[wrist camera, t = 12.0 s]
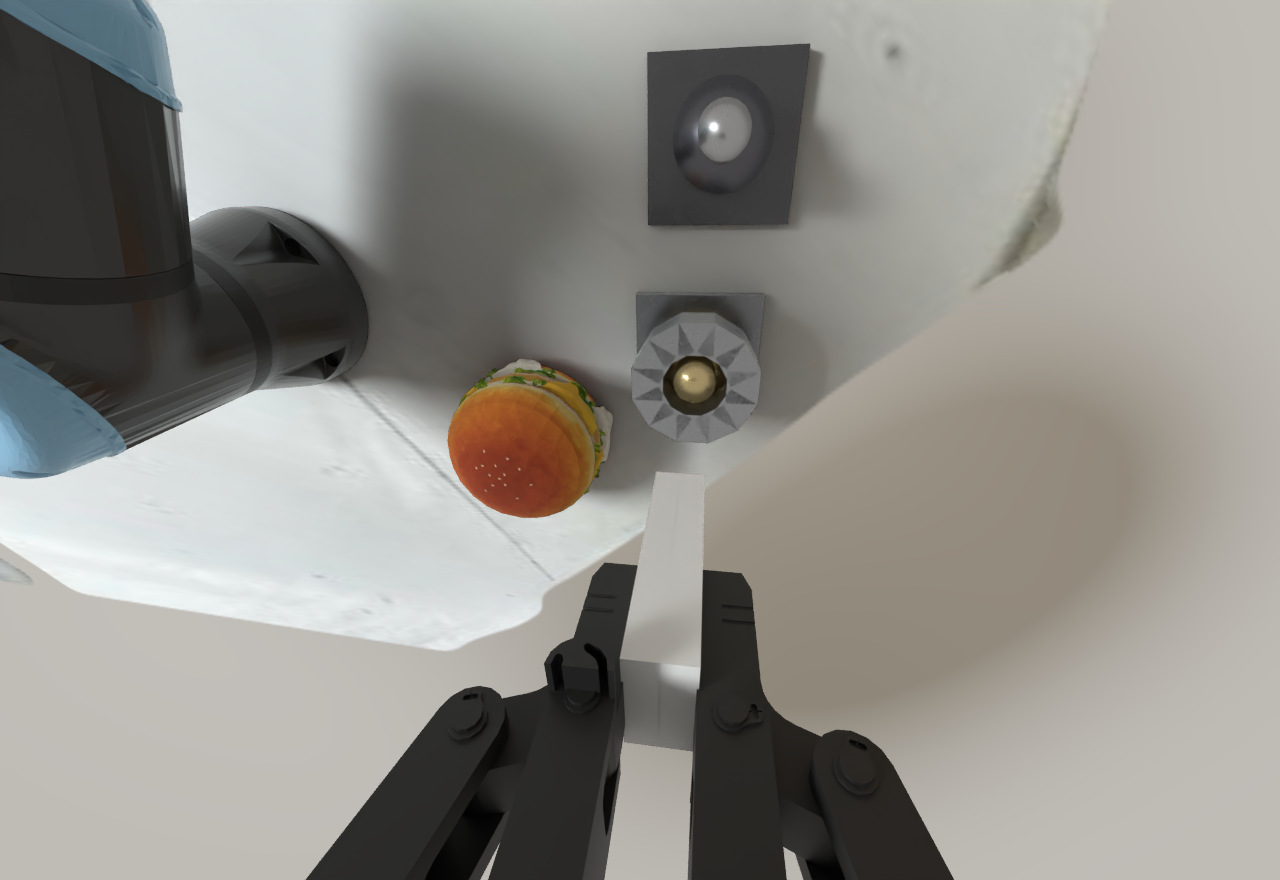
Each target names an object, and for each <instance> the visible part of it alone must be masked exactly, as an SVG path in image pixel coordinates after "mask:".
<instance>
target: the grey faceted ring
mask: <svg viewBox="0 0 1280 880" xmlns="http://www.w3.org/2000/svg"><path fill="white" fill-rule="evenodd" d="M685 356H705V357H707V358H709V359H710V360H712V361H714V362H715V363H717V364H719V365H720V367H721V369H722V371H723V373H724V374H725V381H724V382H723V384H722V385H721V387H720V388H719V389H718V391H717V392H716V393H715V394H713V395H711V396H710V397H709V398H708V399H706V400H705V401H702V402H699V403H690V402H687V401H685V400H683V399H681V398H680V397H679V396H678V395H677V393H676V392H674V391H673V389H672V387H671V386H670V384H669V382H668V381H667V379H666V372H667V370H668V369H669V367H670V365H671V364H672V363H674V362H676V361H678V360H679V359H681V358H683V357H685ZM631 377H632V400H633V402H634V404H635V405H636V407H637V408H638V410H639V412H640V413H641V415H642V416H643V418H644V419H645V421H646V423H647V424H648V426H650V427H651V428H653V429H655V430H657V431H658V432H660V433H662V434H664V435H665V436H667V437H669V438H671V439H673V440H674V441H676V442H696V443H710V442H712V441H714V440H716V439H719V438H721V437H723V436H726V435H728V434H730V433H732V432H735V431H737V430H738V429H739V428H740V427H741V425H742V424H743V423H744V422H745V420H746V419H747V418H748V416H749V415H750V414H751V413H752V411H753V410H754V409H755V407H756V406H757V405H758V397H759V388H760V379H761V370H760V366H759V362H758V359H757V356H756V354H755V352H754V350H753V348H752V346H751V344H750V342H749V340H748V338H747V336H746V334H745V332H744V330H742V329H741V328H739V327H738V326H736V325H734V324H733V323H731V322H729V321H728V320H726V319H724V318H723V317H721V316H720V315H718V314H716V313H694V312H681V313H679V314H678V315H676V316H674V317H672V318H670V319H669V320H667V321H665V322H663V323H661V324H660V325H658V326H656V327H654V328H653V329H652V331H651V332H650V334H649V336H648V337H647V339H646V341H645V343H644V344H643V346H642V348H641V349H640V351H639V353H638V355H637V357H636V359H635V361H634V363H633V366H632V368H631Z"/></svg>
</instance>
